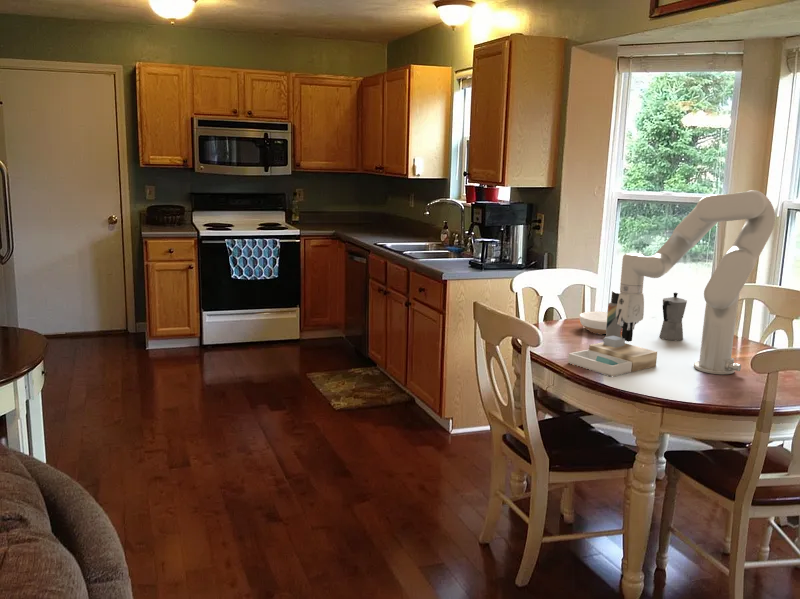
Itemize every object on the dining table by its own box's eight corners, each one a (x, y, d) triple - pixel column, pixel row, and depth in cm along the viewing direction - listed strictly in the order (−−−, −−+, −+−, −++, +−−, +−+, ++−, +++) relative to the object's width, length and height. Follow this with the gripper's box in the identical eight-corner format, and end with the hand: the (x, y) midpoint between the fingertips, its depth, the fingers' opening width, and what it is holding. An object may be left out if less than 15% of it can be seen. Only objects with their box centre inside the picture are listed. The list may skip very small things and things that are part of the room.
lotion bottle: (619, 341, 280) (623, 289, 276) (622, 345, 274) (626, 292, 270) (604, 340, 280) (608, 289, 276) (606, 344, 275) (611, 291, 271)
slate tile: (624, 345, 253) (625, 338, 253) (615, 347, 250) (615, 340, 250) (612, 342, 257) (613, 335, 257) (603, 344, 254) (603, 337, 254)
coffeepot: (667, 333, 296) (672, 289, 292) (690, 337, 289) (695, 292, 285) (648, 338, 285) (653, 293, 282) (672, 343, 278) (676, 297, 275)
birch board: (655, 366, 247) (657, 351, 246) (632, 371, 240) (633, 357, 239) (612, 353, 261) (613, 340, 260) (588, 359, 254) (589, 345, 253)
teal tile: (609, 359, 236) (607, 366, 236) (618, 363, 239) (615, 370, 239) (597, 355, 240) (594, 363, 239) (605, 359, 243) (603, 366, 243)
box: (631, 372, 239) (632, 361, 239) (611, 377, 234) (612, 366, 233) (587, 359, 254) (588, 349, 253) (567, 363, 248) (568, 353, 247)
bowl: (600, 339, 283) (601, 323, 281) (568, 328, 300) (569, 313, 299) (639, 335, 291) (640, 320, 290) (605, 324, 308) (607, 310, 307)
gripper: (626, 292, 247) (622, 345, 250) (653, 289, 256) (648, 340, 259) (608, 289, 253) (604, 340, 256) (635, 285, 262) (630, 335, 265)
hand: (626, 340), depth 258 cm, fingers closed
